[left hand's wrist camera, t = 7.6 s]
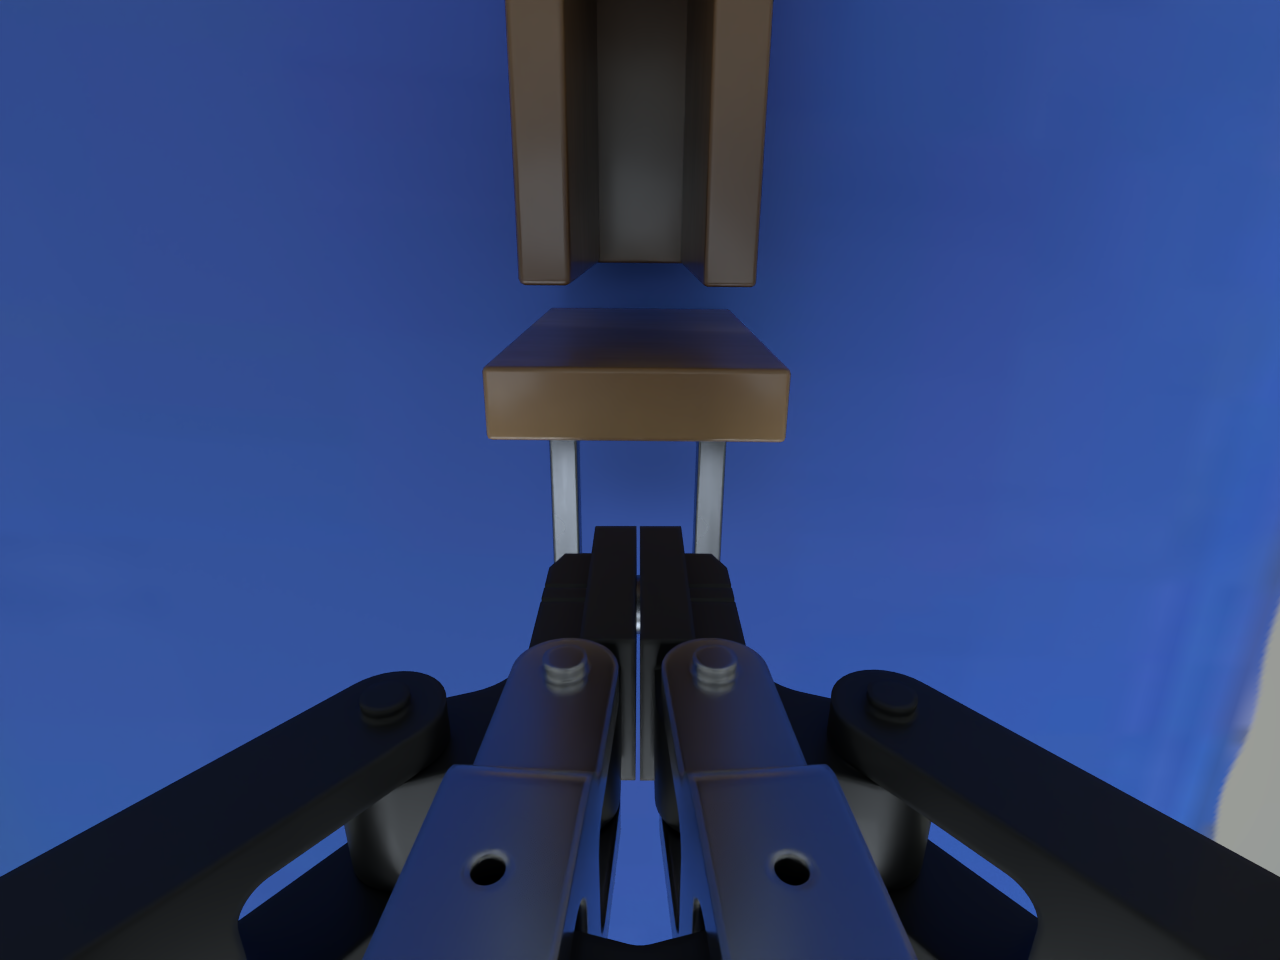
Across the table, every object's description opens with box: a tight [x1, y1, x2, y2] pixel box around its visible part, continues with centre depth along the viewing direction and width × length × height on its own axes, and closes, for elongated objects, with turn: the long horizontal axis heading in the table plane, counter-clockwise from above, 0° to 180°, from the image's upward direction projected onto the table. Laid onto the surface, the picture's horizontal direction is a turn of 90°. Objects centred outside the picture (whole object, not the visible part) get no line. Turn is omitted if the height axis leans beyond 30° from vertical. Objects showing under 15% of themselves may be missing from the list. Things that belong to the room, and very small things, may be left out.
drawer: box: [482, 0, 791, 634], centre depth 13 cm, size 22×5×8 cm, turn 0°
